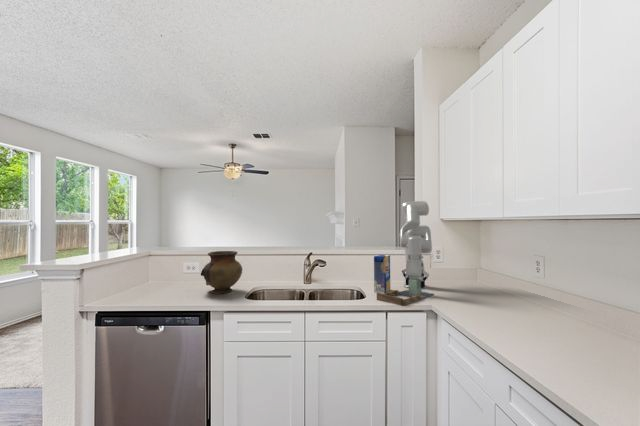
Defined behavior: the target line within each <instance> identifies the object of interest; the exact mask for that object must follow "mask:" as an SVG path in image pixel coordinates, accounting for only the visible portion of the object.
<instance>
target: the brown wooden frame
mask: <svg viewBox="0 0 640 426" xmlns="http://www.w3.org/2000/svg"><path fill="white" fill-rule="evenodd" d="M398 291H399V290H398V289H396V290H392V291H391V290H390V291H388V292H387V293H376V300H377V301H381V302H384V303H389V304H393V305H397V306H405V305H407V304H410V303H414V302H417V301H419V300H422V299H421V295H420V294H419V295H416V296H413V297H409V296H408V297H406V298H402V297H397V295H399V294H398Z"/></svg>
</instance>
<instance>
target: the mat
mask: <svg viewBox="0 0 640 426" xmlns="http://www.w3.org/2000/svg"><path fill="white" fill-rule="evenodd" d="M398 295H399V296H405V297H408V298H409V297H413V296H416V295H415V294H410V293H409V289H405V290H402V291H399V292H398ZM417 295H419V294H417ZM420 295H421V299H420V300H423V299H425V298H428V297H432V296H434V295H435V294H434V293H432V292H427V291H422V293H420Z"/></svg>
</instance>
